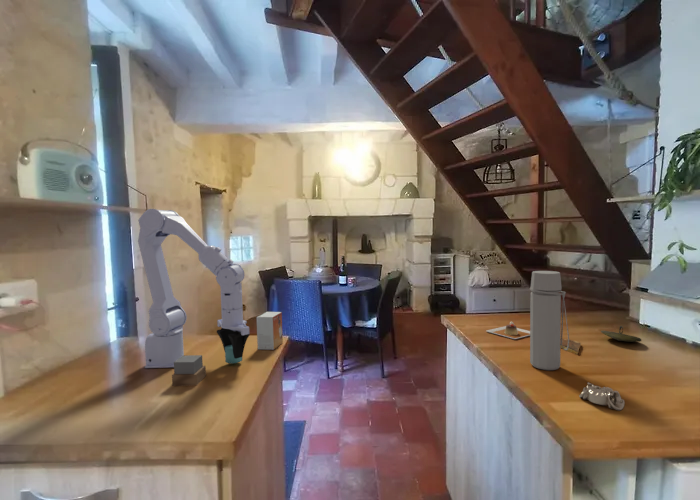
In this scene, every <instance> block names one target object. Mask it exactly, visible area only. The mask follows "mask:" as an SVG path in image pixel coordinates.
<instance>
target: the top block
mask: <svg viewBox="0 0 700 500" xmlns="http://www.w3.org/2000/svg"><path fill="white" fill-rule="evenodd" d="M203 366H204V365H203V355H202V354H201V355H197V354H196V355H194V354H193V355H191V354H190V355H184V356H182V357H180V358H179V359H178V360H176V361H175V362H174V367H173V372H174V373H173V374H195V373H196V372H197V371H198V370H199V369H200V368H202V367H203Z"/></svg>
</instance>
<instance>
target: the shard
mask: <svg viewBox="0 0 700 500" xmlns="http://www.w3.org/2000/svg"><path fill="white" fill-rule="evenodd" d="M581 345H582V343H581V342H580V341H577V340H572V339H569V347H568V350H565V351H567V352H568V353H572V354H575V355H578V354H579V352H580V351H579V349H580V348H581ZM562 346H563V348H564V349H567V346H568V338H562ZM562 346H561V342H560V349H562V350H564V349H563V348H562Z"/></svg>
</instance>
